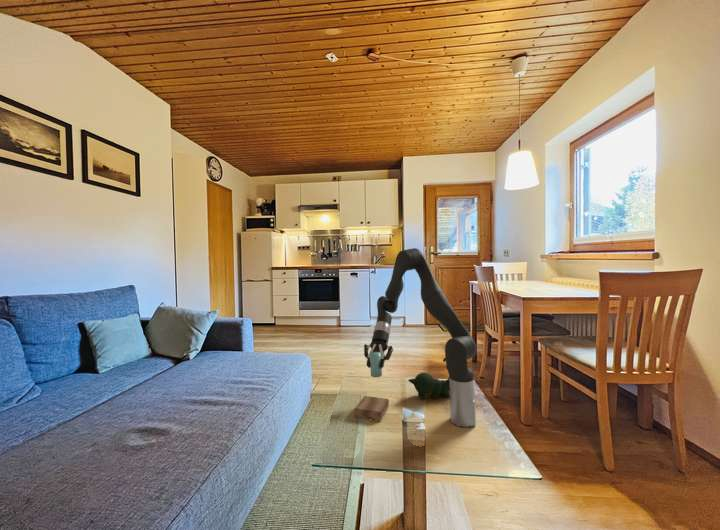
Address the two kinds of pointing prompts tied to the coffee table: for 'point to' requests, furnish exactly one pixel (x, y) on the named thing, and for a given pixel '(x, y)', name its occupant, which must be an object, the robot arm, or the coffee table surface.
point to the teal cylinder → (375, 364)
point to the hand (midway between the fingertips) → (374, 367)
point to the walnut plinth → (371, 408)
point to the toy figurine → (430, 385)
